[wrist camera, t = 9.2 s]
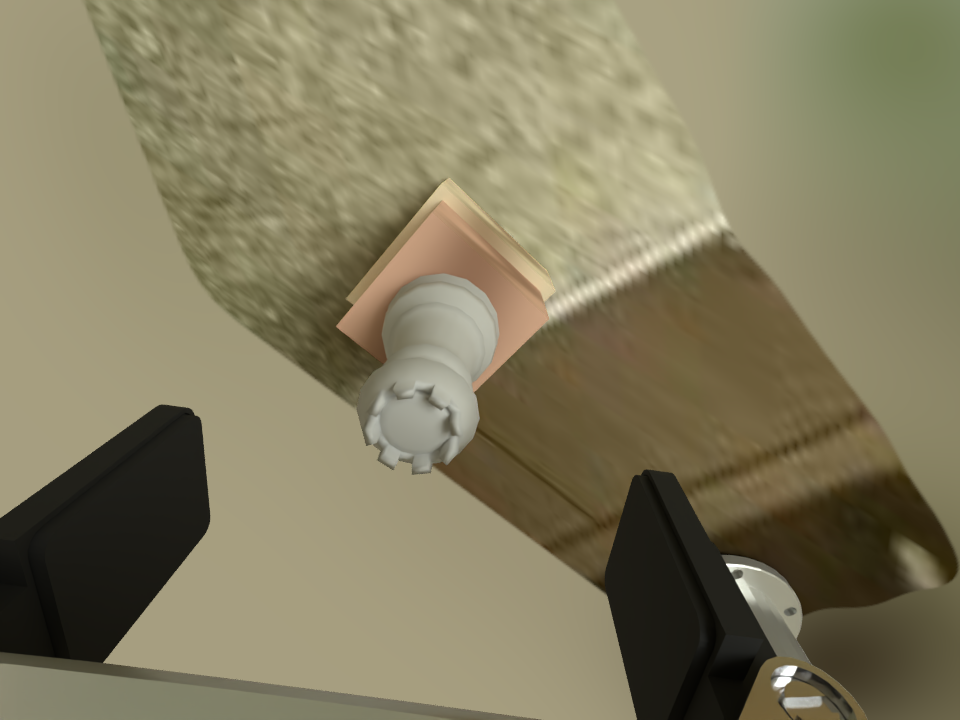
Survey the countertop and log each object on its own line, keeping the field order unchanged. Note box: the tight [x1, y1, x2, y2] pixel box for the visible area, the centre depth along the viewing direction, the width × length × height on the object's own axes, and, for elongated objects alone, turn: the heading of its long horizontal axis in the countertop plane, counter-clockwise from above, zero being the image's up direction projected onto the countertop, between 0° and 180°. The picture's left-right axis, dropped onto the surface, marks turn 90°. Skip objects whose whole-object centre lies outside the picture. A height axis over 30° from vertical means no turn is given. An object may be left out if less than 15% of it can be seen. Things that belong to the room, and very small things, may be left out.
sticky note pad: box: [336, 178, 556, 393], centre depth 23 cm, size 7×7×8 cm
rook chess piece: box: [357, 273, 499, 475], centre depth 16 cm, size 4×4×8 cm
